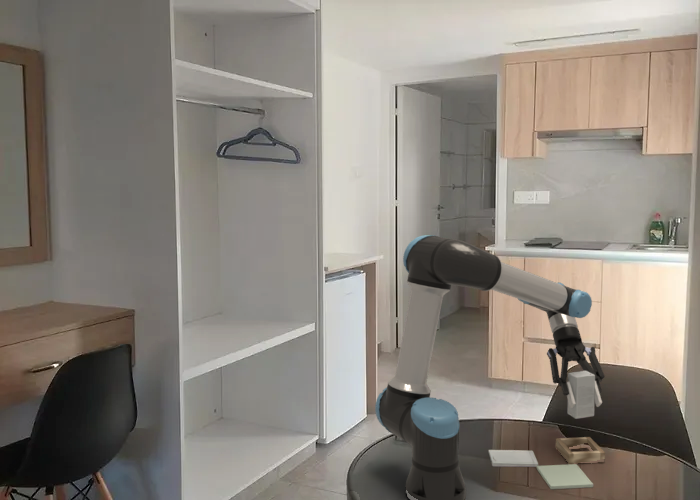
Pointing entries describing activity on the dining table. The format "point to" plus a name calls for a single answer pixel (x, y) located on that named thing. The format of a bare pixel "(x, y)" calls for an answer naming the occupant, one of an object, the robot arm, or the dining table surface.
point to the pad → (564, 476)
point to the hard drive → (512, 458)
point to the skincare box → (582, 394)
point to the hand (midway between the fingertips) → (586, 405)
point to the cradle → (578, 457)
